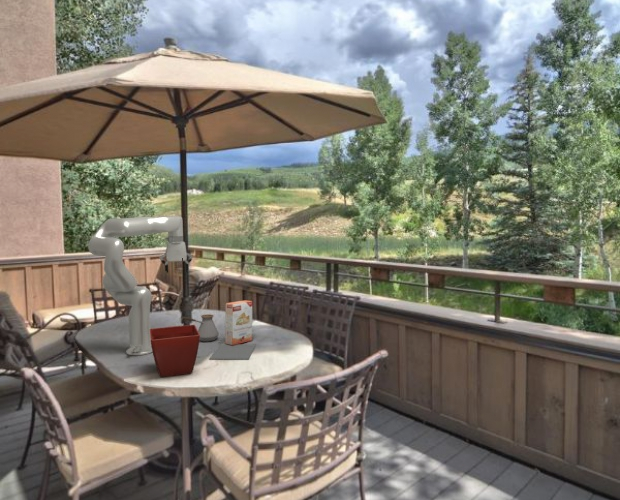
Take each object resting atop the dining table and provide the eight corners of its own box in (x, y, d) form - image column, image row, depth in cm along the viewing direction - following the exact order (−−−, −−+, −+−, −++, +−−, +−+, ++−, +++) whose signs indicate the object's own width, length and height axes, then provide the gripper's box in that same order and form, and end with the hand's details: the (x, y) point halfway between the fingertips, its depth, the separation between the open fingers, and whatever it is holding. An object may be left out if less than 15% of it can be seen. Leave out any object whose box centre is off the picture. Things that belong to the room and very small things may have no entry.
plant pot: (150, 366, 192) (149, 328, 190) (195, 360, 198) (194, 324, 197) (151, 381, 174) (150, 339, 172) (201, 375, 181) (200, 335, 179)
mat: (248, 359, 199) (248, 358, 199) (209, 359, 200) (209, 358, 200) (255, 345, 221) (255, 344, 221) (220, 345, 222) (220, 344, 222)
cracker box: (233, 346, 218) (232, 304, 217) (224, 344, 222) (224, 303, 221) (253, 340, 229) (252, 300, 228) (244, 338, 233) (244, 299, 232)
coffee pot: (210, 335, 240) (210, 308, 238) (223, 339, 232) (222, 311, 230) (175, 343, 224) (174, 314, 223) (187, 348, 216) (186, 318, 215)
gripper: (158, 240, 224) (160, 273, 226) (193, 239, 231) (194, 271, 233) (158, 239, 231) (159, 271, 233) (191, 238, 238) (192, 270, 239)
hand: (176, 271), depth 233 cm, fingers open, 9 cm apart
